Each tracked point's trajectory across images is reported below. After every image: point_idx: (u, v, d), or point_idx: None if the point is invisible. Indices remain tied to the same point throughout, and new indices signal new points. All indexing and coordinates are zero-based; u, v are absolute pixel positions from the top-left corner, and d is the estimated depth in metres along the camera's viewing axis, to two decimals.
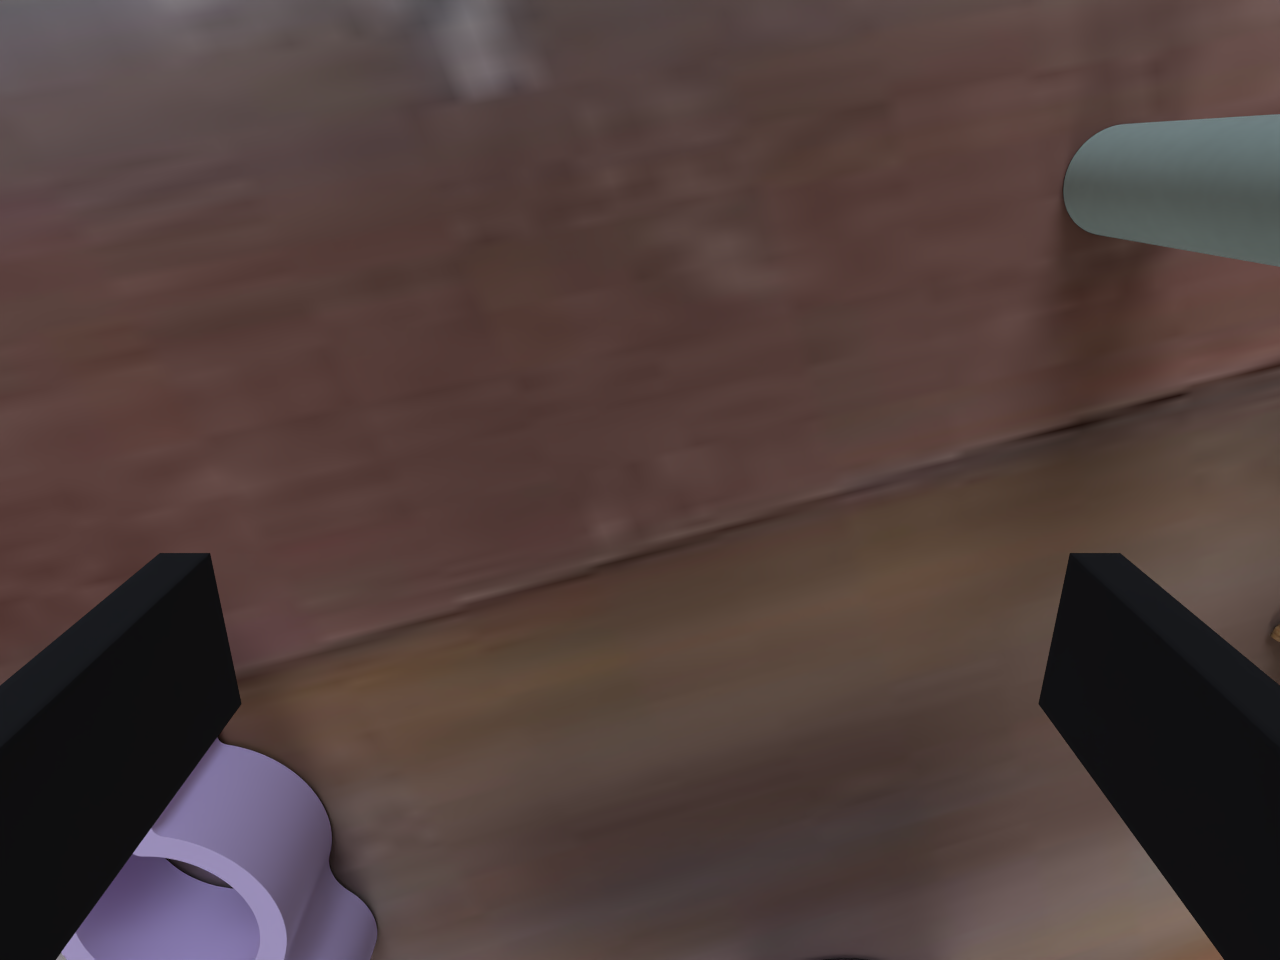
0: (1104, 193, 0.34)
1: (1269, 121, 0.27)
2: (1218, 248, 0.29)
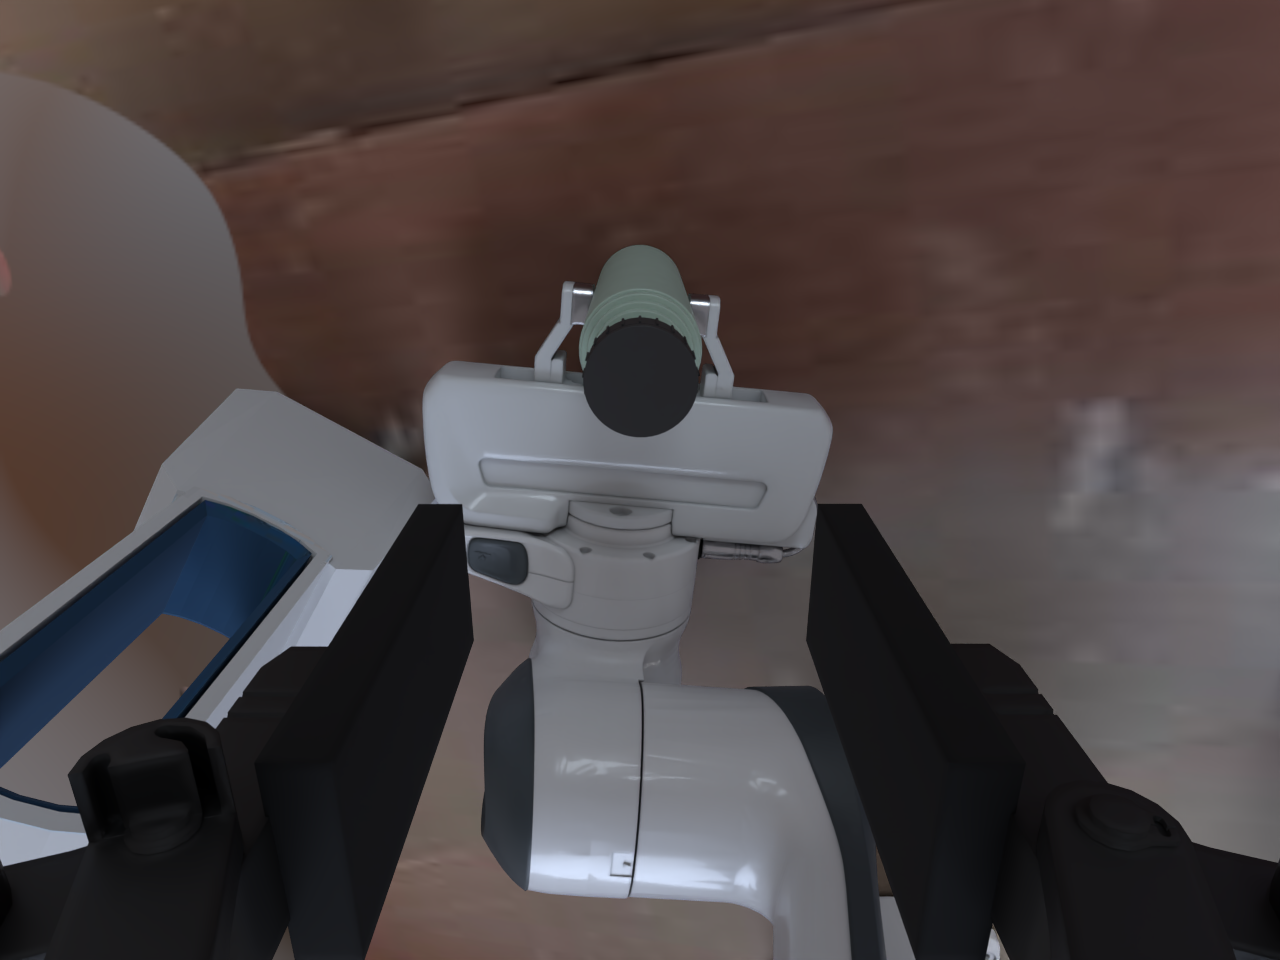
0: None
1: None
2: (675, 281, 0.36)
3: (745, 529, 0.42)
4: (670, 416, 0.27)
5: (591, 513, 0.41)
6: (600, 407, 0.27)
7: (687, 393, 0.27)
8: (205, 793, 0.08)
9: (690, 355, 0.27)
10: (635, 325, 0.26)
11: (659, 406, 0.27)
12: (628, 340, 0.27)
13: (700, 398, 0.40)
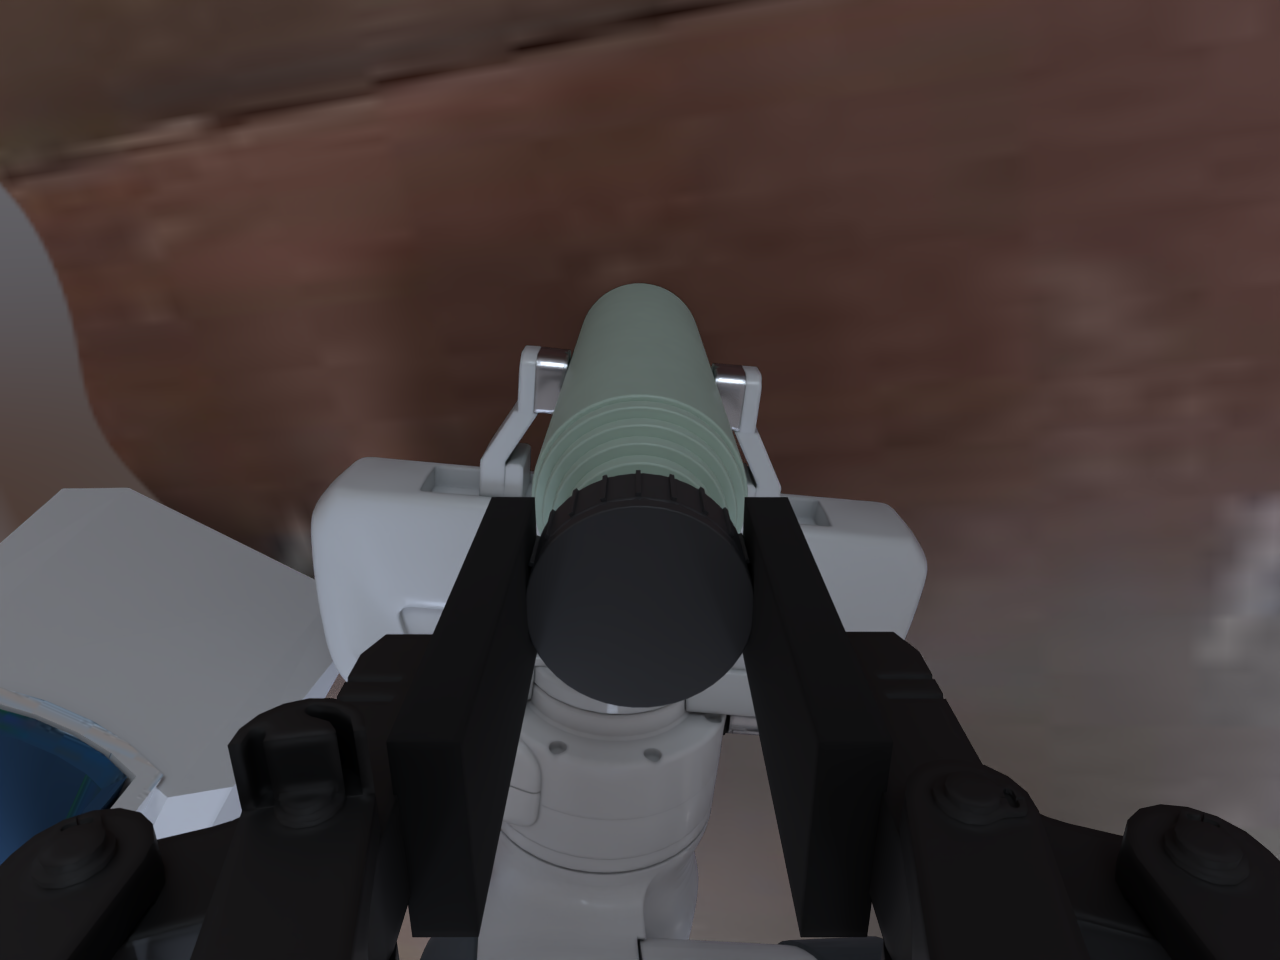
0: None
1: None
2: (695, 356, 0.23)
3: None
4: (698, 671, 0.14)
5: (566, 690, 0.27)
6: (559, 656, 0.14)
7: (733, 631, 0.14)
8: (346, 773, 0.08)
9: (740, 562, 0.13)
10: (628, 504, 0.13)
11: (677, 654, 0.14)
12: (614, 534, 0.13)
13: None
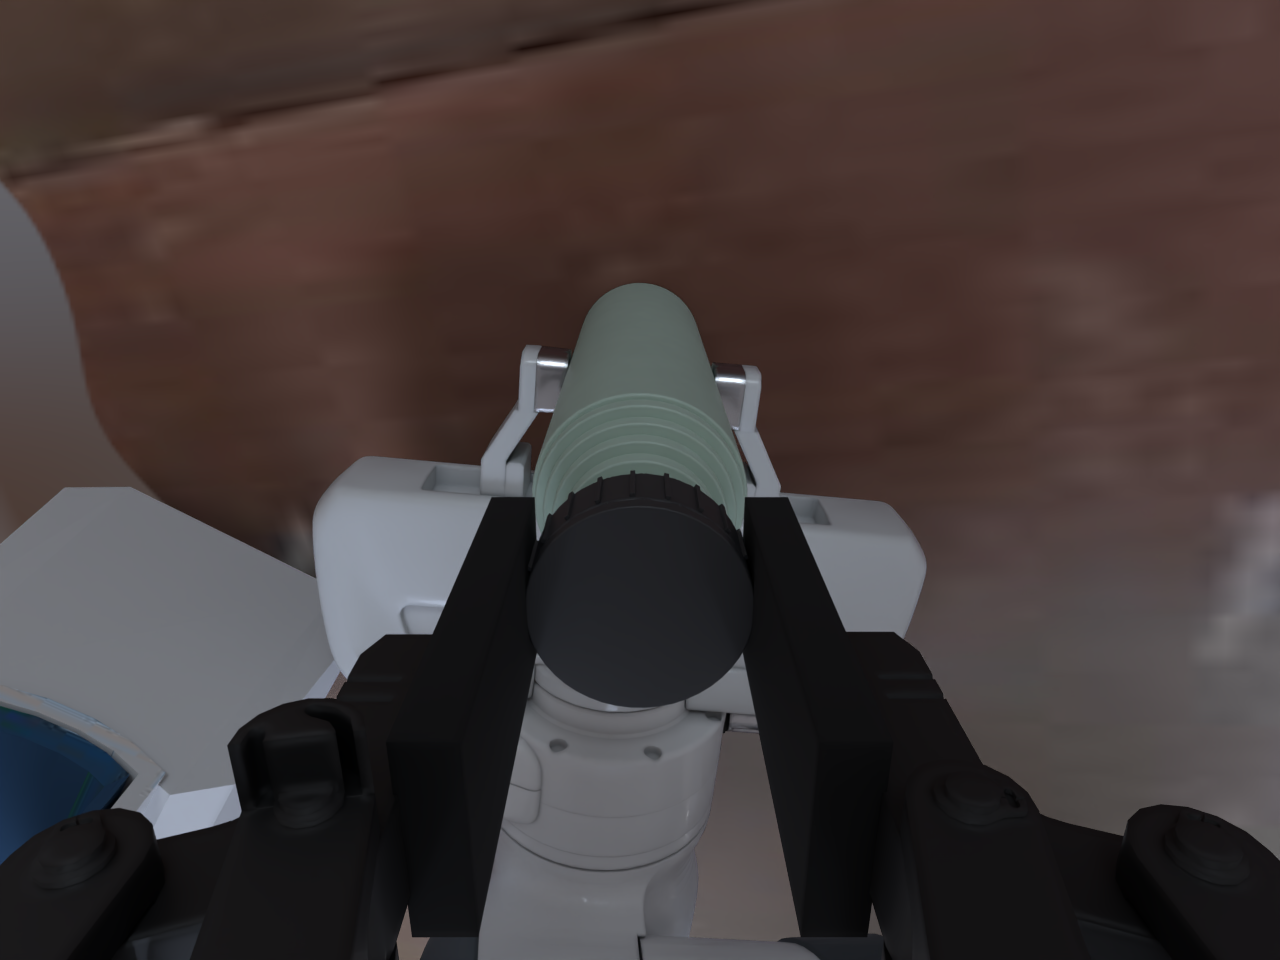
0: None
1: None
2: (695, 355, 0.23)
3: None
4: (713, 559, 0.13)
5: (567, 688, 0.28)
6: (686, 683, 0.14)
7: (664, 527, 0.13)
8: (346, 772, 0.08)
9: (583, 521, 0.13)
10: None
11: (690, 580, 0.13)
12: (554, 631, 0.14)
13: None
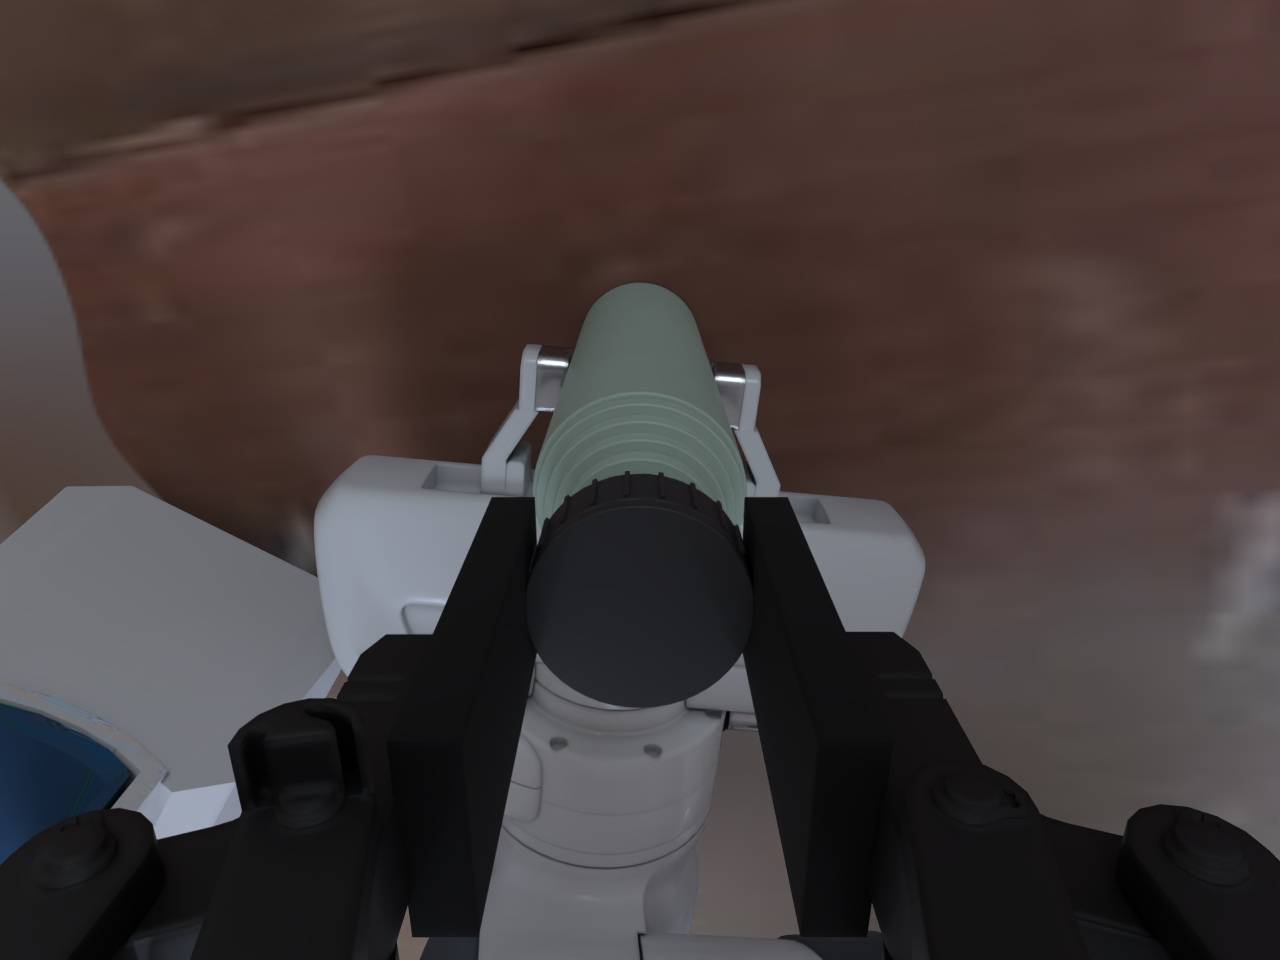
0: None
1: None
2: (695, 354, 0.23)
3: None
4: (581, 546, 0.13)
5: (567, 686, 0.28)
6: (725, 571, 0.13)
7: (545, 589, 0.13)
8: (346, 772, 0.08)
9: (540, 656, 0.14)
10: (644, 705, 0.14)
11: (603, 567, 0.13)
12: (658, 685, 0.14)
13: None
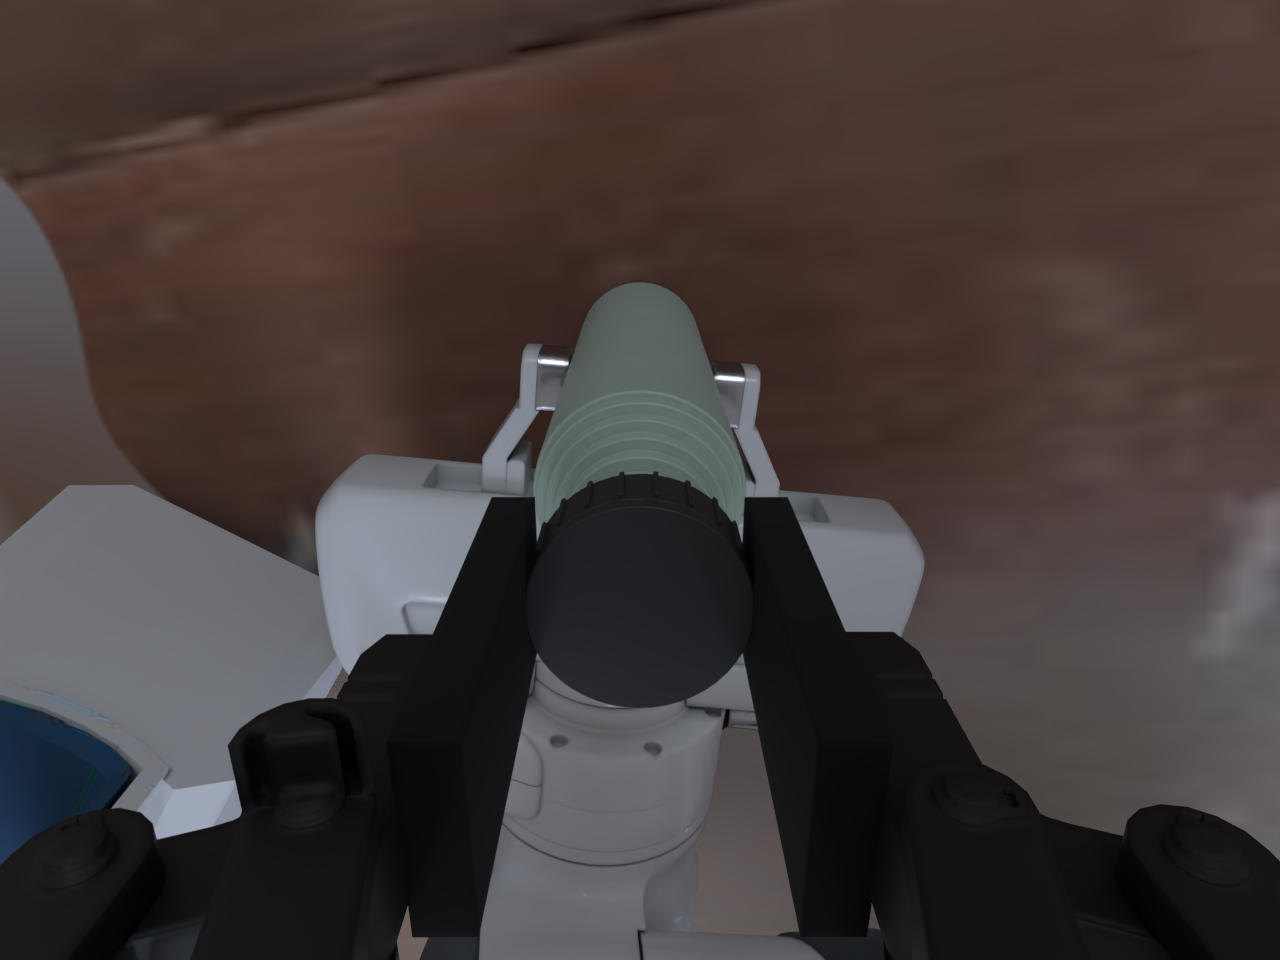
0: None
1: None
2: (694, 353, 0.23)
3: None
4: (566, 659, 0.14)
5: None
6: (594, 535, 0.13)
7: (611, 690, 0.14)
8: (346, 772, 0.08)
9: (685, 698, 0.14)
10: None
11: (588, 641, 0.14)
12: (728, 597, 0.13)
13: None
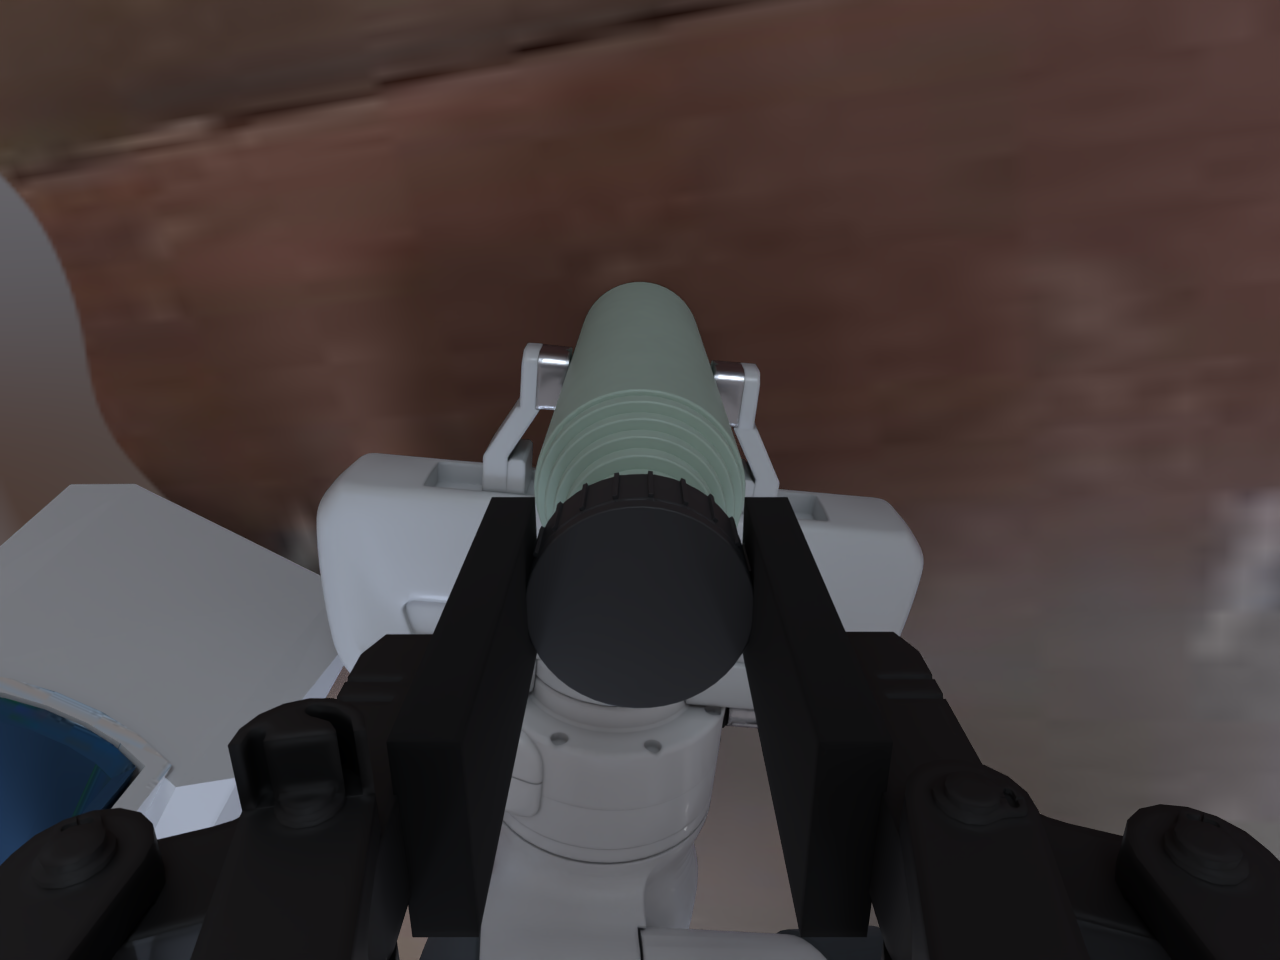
0: None
1: None
2: (694, 352, 0.23)
3: None
4: (690, 677, 0.14)
5: None
6: (554, 649, 0.14)
7: (729, 640, 0.14)
8: (346, 772, 0.08)
9: (745, 572, 0.13)
10: (641, 505, 0.13)
11: (671, 657, 0.14)
12: (624, 533, 0.13)
13: None
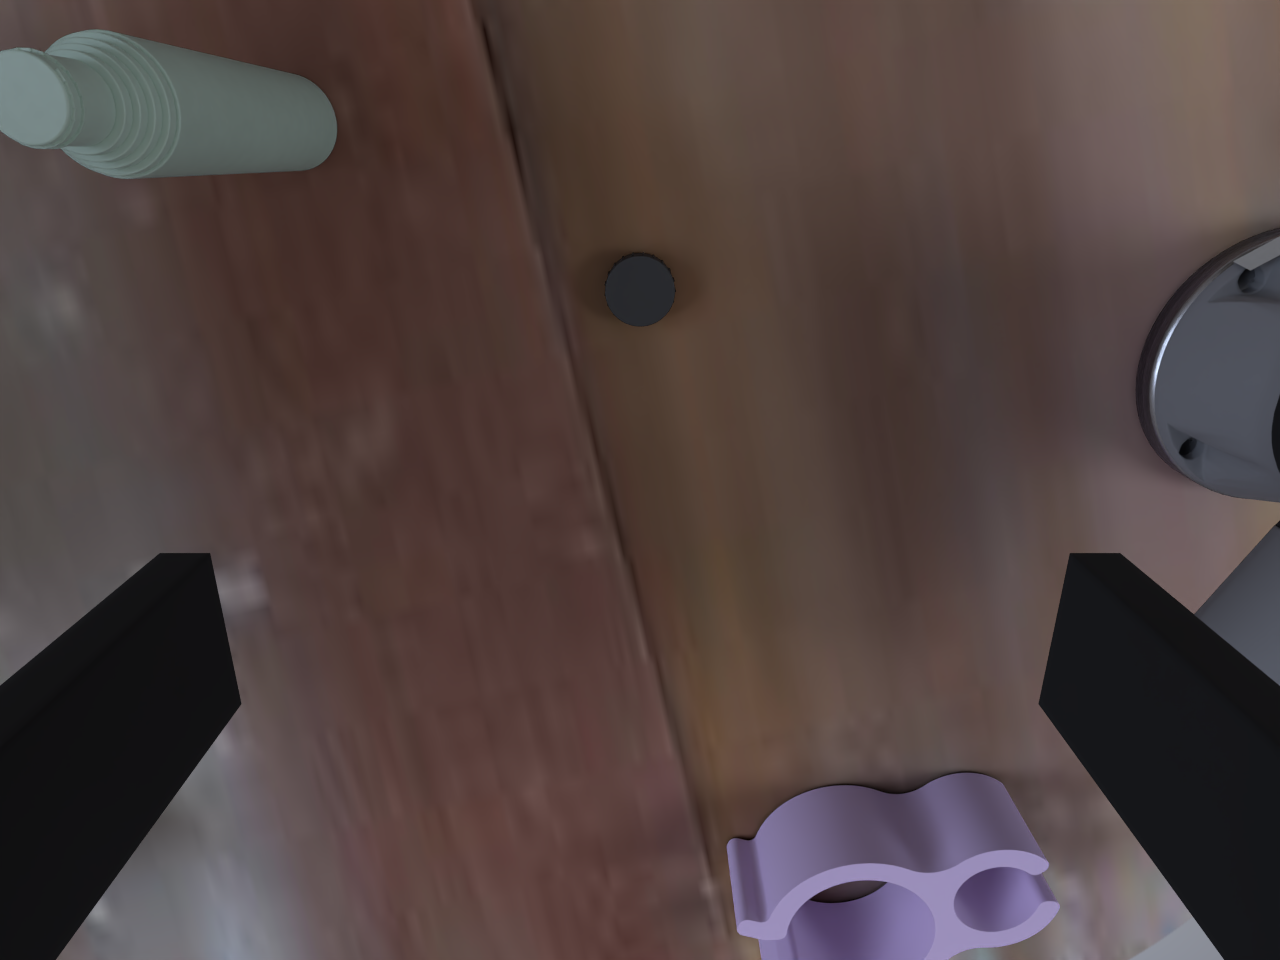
0: None
1: None
2: (248, 153, 0.35)
3: None
4: (655, 314, 0.45)
5: None
6: (614, 304, 0.45)
7: (667, 301, 0.45)
8: None
9: (671, 277, 0.45)
10: (640, 255, 0.44)
11: (649, 307, 0.45)
12: (635, 264, 0.44)
13: None
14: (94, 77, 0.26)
